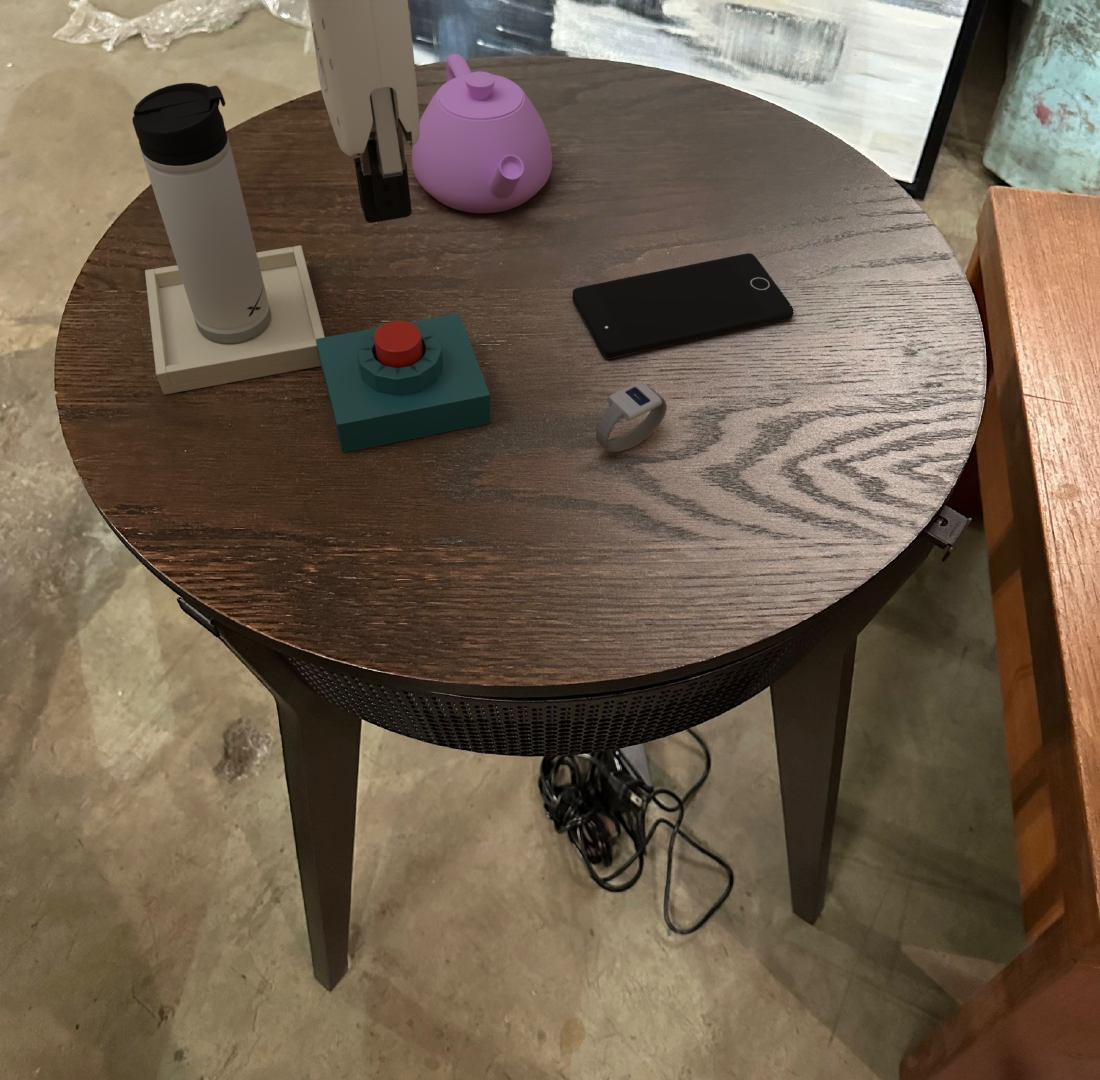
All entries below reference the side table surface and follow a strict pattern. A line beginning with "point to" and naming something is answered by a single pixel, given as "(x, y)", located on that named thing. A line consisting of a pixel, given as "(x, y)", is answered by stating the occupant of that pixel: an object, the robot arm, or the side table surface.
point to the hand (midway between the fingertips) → (386, 212)
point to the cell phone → (680, 305)
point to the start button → (398, 344)
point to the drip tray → (209, 363)
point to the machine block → (403, 386)
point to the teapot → (481, 143)
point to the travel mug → (203, 209)
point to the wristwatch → (631, 416)
